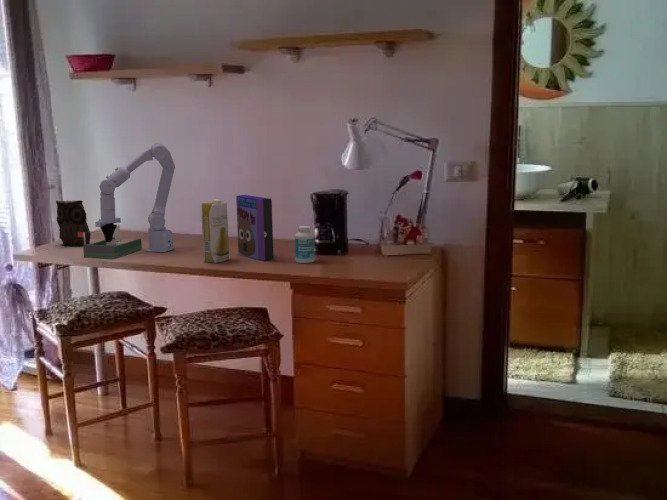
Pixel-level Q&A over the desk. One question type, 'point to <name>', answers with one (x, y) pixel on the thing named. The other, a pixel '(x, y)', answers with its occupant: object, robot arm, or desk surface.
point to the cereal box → (255, 227)
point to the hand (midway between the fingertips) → (108, 242)
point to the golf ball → (112, 243)
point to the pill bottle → (304, 245)
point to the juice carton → (215, 231)
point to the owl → (72, 223)
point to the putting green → (109, 248)
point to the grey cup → (117, 233)
